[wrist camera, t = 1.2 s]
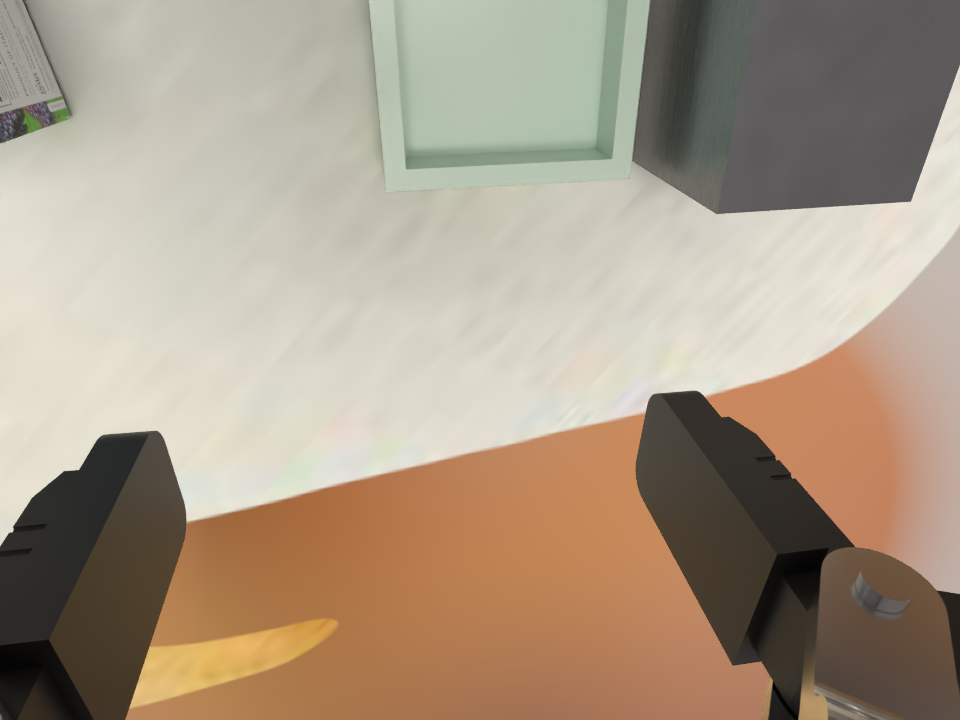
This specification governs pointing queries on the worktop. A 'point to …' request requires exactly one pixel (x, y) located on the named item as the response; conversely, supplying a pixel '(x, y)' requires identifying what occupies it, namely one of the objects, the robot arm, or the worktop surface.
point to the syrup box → (25, 77)
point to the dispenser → (794, 99)
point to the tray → (506, 90)
